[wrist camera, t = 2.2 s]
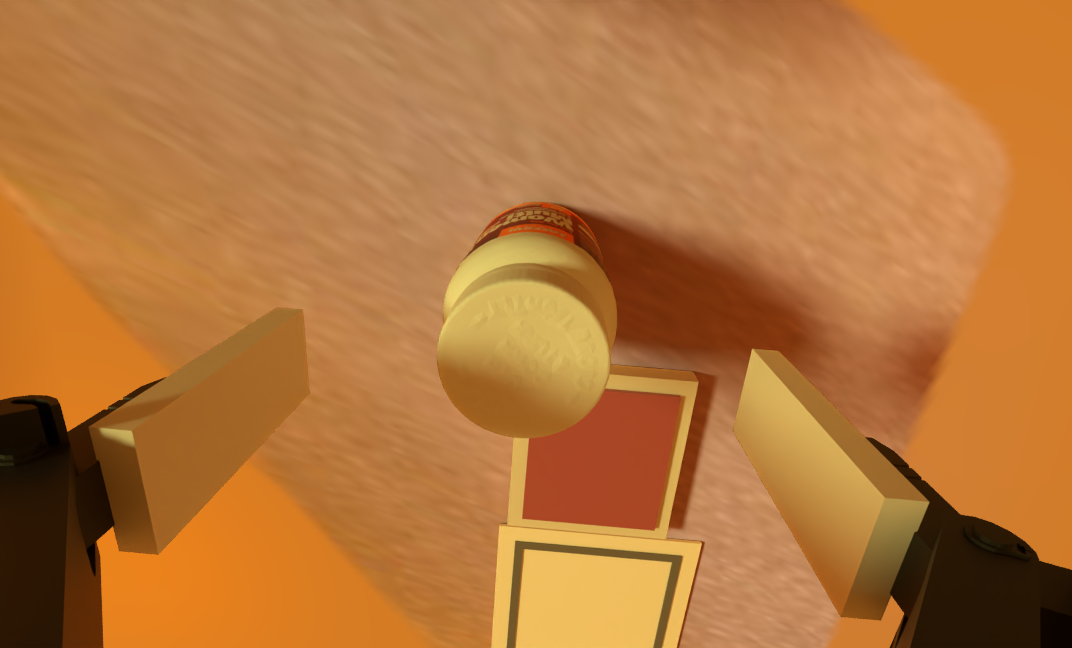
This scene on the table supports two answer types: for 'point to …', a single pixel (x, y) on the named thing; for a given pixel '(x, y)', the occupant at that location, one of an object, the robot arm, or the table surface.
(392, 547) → the table surface
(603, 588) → the paper sheet
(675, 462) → the pad
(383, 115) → the table surface
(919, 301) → the table surface
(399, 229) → the table surface
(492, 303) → the pill bottle
